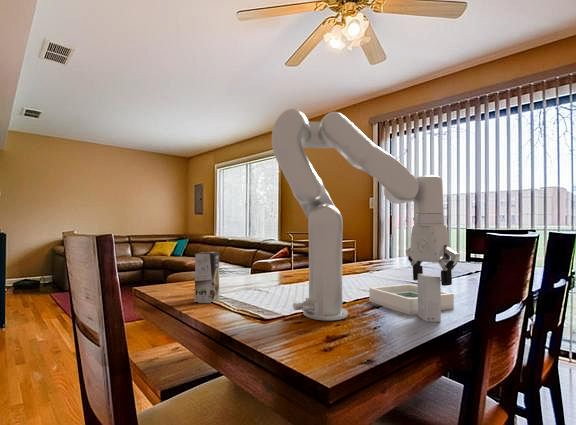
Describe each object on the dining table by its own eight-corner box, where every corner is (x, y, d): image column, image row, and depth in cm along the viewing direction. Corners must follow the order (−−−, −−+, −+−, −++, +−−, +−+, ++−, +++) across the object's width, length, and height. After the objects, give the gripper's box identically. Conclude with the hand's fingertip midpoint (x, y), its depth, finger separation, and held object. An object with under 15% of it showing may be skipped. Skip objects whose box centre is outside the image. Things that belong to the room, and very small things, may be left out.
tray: (409, 315, 96) (409, 299, 96) (369, 301, 113) (369, 287, 113) (453, 308, 104) (453, 293, 104) (410, 296, 120) (409, 283, 120)
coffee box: (213, 303, 109) (214, 253, 110) (193, 303, 109) (194, 253, 110) (219, 297, 118) (220, 251, 119) (201, 297, 118) (202, 250, 119)
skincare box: (441, 322, 90) (441, 277, 90) (425, 322, 90) (425, 276, 90) (432, 315, 96) (431, 273, 96) (417, 315, 96) (416, 273, 96)
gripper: (396, 221, 100) (398, 279, 99) (445, 220, 84) (448, 289, 83) (415, 220, 103) (417, 277, 102) (466, 219, 87) (469, 286, 87)
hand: (431, 282), depth 93 cm, fingers open, 9 cm apart
